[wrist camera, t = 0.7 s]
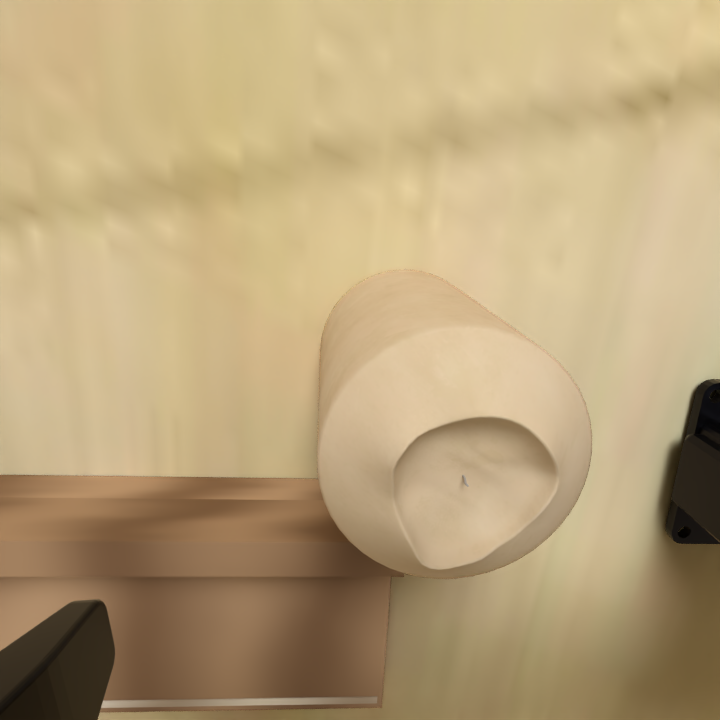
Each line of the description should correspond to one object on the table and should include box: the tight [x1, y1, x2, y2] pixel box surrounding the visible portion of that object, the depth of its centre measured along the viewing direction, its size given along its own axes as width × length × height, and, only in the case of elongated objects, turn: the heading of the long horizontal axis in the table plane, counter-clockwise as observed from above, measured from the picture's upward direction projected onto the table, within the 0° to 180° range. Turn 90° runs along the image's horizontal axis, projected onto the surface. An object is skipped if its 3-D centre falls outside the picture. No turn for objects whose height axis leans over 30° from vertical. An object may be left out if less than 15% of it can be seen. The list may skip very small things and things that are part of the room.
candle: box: [317, 270, 592, 579], centre depth 14 cm, size 6×6×10 cm
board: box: [0, 475, 404, 712], centre depth 19 cm, size 16×9×4 cm, turn 87°
